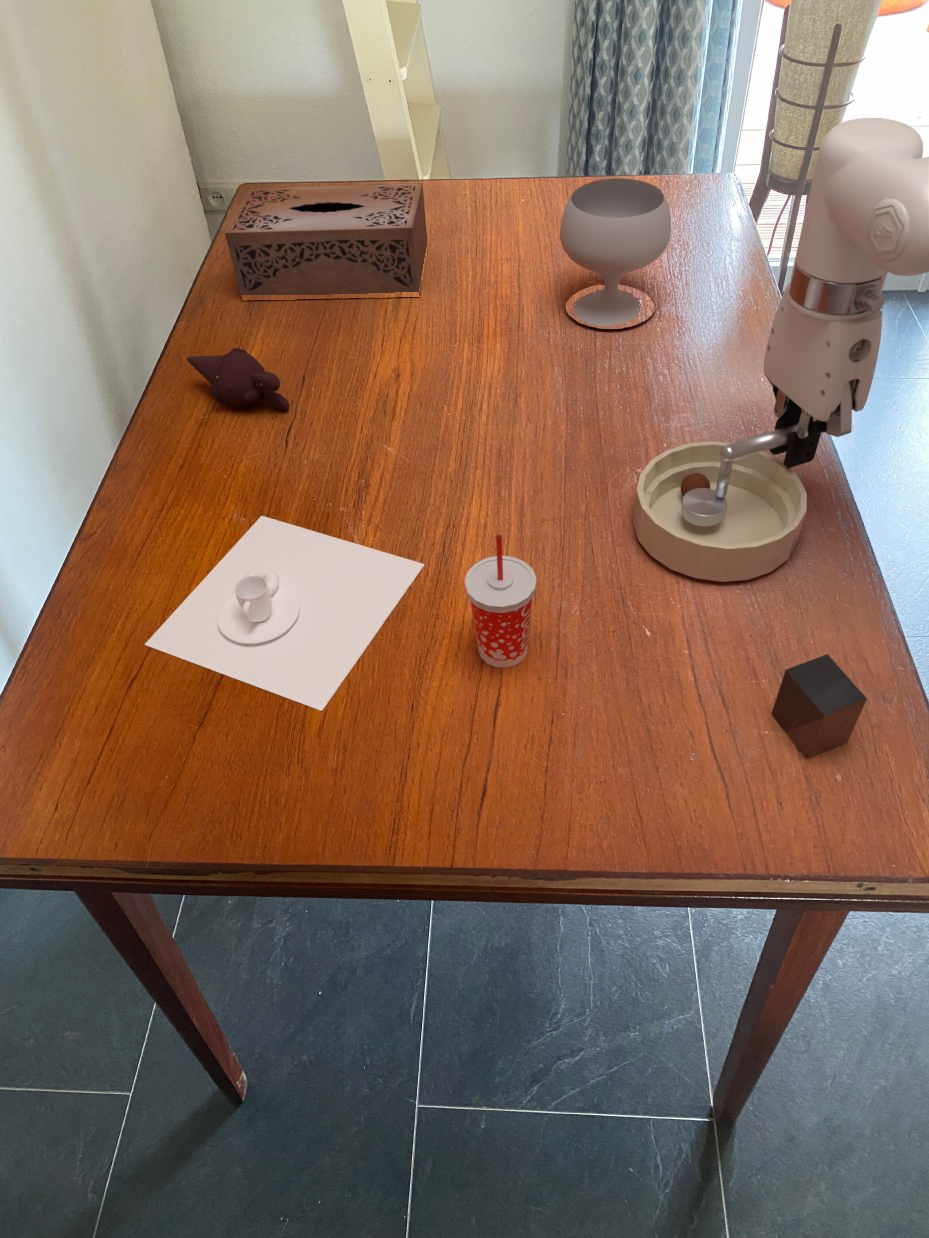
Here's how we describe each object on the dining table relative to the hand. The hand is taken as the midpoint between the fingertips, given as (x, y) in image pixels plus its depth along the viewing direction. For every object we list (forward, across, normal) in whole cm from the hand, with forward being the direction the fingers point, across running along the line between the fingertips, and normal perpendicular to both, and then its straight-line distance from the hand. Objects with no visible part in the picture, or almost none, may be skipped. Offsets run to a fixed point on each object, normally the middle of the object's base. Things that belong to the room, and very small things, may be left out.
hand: (791, 455), depth 91 cm
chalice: (+6, +43, -3) cm, 44 cm away
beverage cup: (+6, -7, +34) cm, 36 cm away
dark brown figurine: (+6, +44, +48) cm, 66 cm away
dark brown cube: (+6, -25, +15) cm, 30 cm away
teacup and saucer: (+6, +7, +52) cm, 52 cm away
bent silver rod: (+4, 0, +3) cm, 5 cm away
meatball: (+4, +4, +8) cm, 10 cm away
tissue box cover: (+6, +70, +28) cm, 76 cm away
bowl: (+6, -1, +8) cm, 10 cm away
